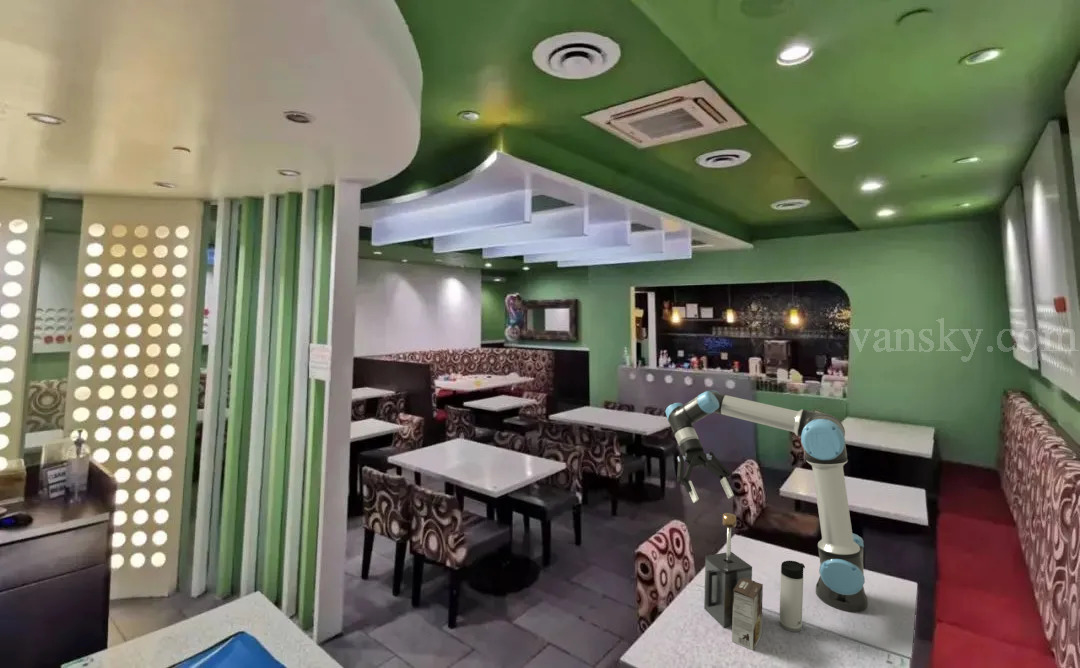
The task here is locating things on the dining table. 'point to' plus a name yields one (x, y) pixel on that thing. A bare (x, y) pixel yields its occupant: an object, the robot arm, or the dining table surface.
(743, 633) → the coffee box
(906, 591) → the dining table surface
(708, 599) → the press pot
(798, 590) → the travel mug
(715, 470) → the robot arm
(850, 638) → the dining table surface
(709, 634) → the dining table surface
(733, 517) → the plunger
